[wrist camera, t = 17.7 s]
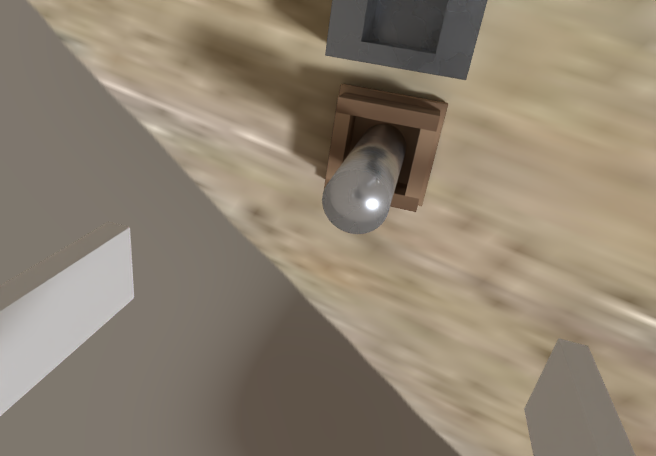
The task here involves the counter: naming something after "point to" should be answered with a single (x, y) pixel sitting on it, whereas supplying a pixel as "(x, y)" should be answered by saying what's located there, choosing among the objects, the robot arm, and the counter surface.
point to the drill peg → (366, 181)
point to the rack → (400, 112)
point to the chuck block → (407, 33)
